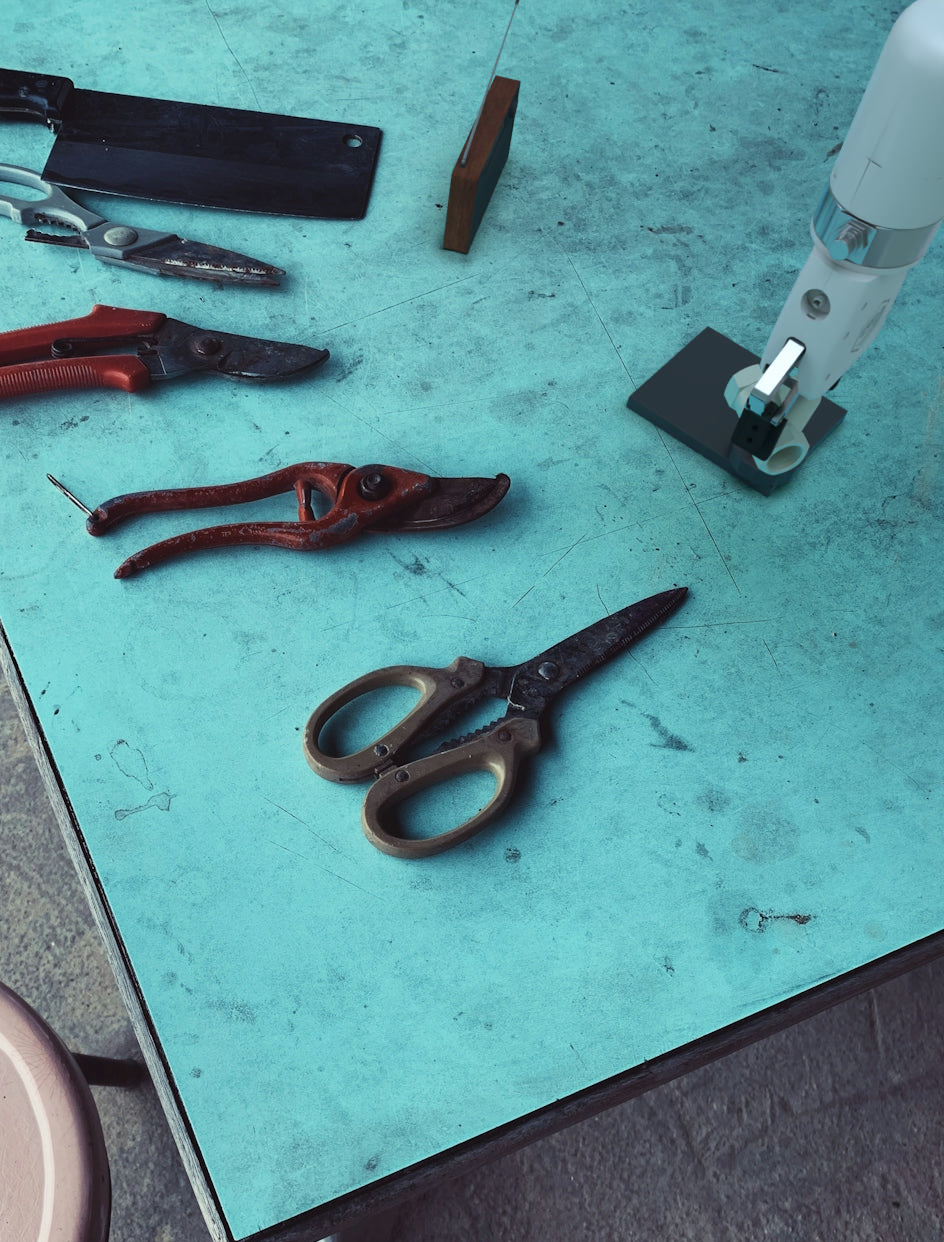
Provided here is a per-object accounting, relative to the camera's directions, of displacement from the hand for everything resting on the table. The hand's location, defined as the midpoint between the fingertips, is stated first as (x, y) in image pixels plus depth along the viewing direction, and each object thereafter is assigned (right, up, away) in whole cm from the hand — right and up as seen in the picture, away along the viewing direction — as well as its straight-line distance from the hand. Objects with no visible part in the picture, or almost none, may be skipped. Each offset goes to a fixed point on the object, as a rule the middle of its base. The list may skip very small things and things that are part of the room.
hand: (783, 414), depth 92 cm
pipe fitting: (0, -1, +3) cm, 3 cm away
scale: (+3, +7, +21) cm, 23 cm away
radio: (-19, +34, +35) cm, 52 cm away
